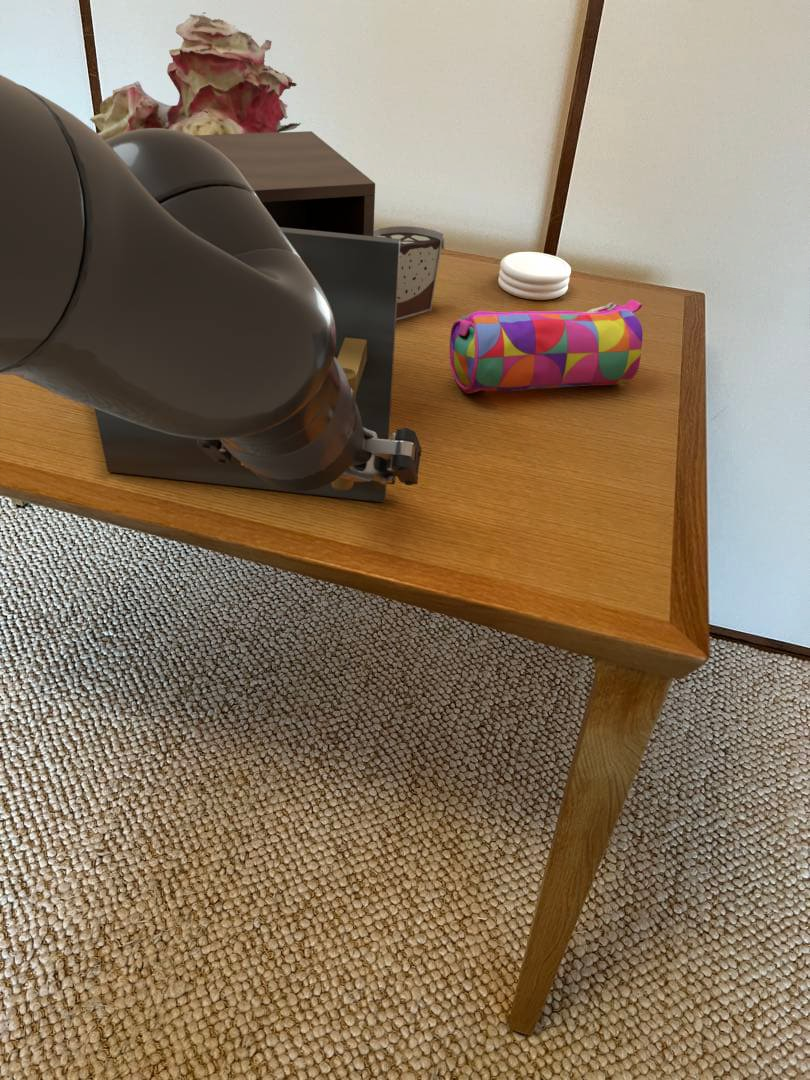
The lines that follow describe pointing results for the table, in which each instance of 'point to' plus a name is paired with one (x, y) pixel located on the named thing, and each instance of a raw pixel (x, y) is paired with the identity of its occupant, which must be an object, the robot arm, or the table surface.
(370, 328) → the door
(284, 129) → the rose bouquet
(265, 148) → the cupboard
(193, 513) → the table surface
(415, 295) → the food container
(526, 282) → the white stacked discs
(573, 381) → the pencil case
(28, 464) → the table surface
